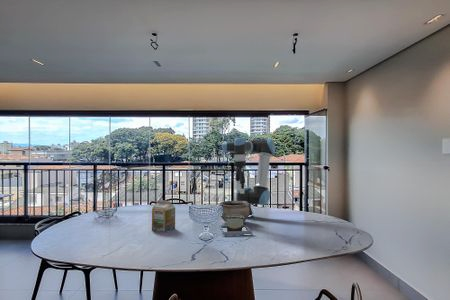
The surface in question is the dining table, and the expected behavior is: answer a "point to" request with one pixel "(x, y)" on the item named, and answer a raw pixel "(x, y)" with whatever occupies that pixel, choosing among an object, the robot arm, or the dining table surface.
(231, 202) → the ceramic bowl
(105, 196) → the geometric lantern
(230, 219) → the food container
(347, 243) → the dining table surface
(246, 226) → the tray
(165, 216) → the milk carton
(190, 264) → the dining table surface
